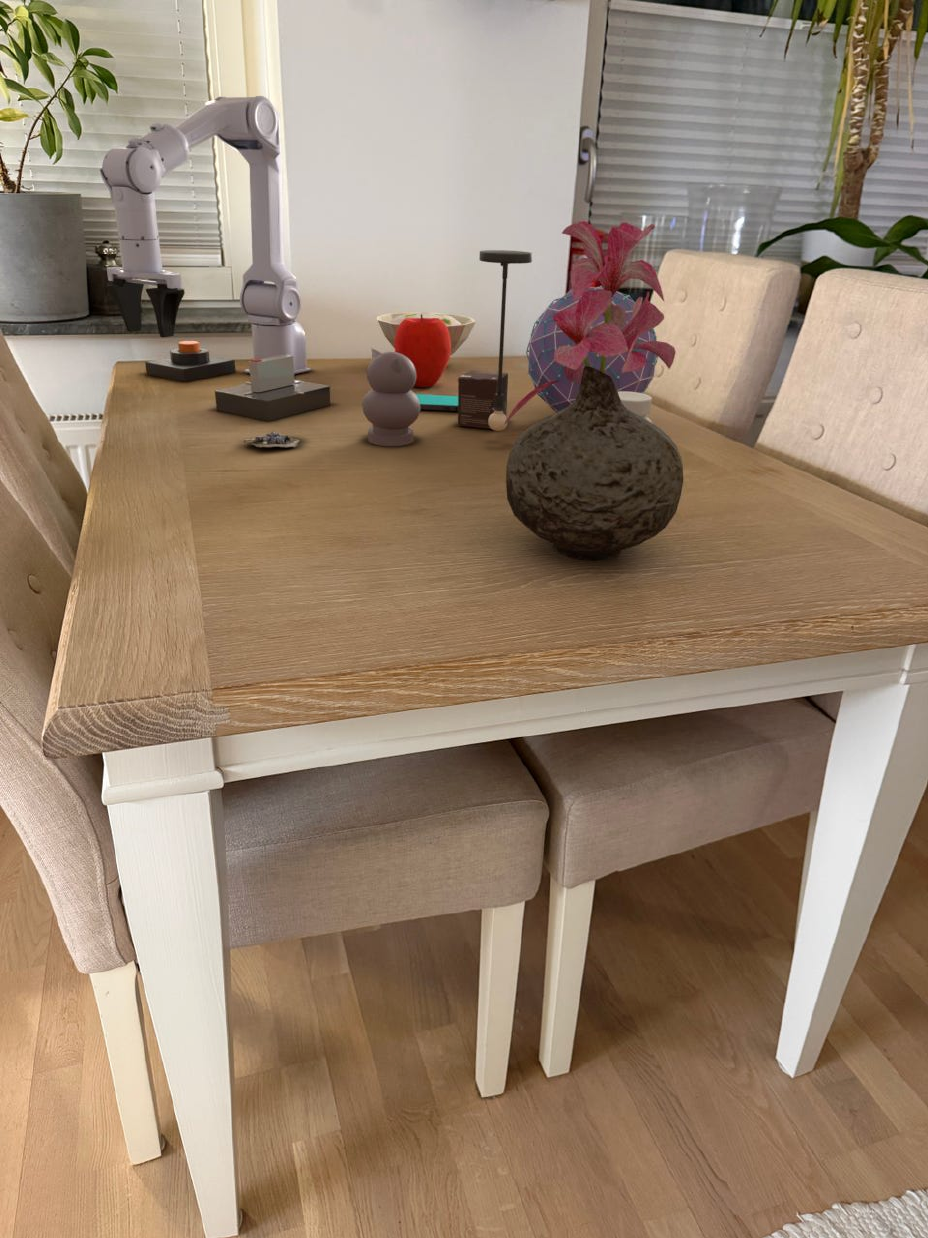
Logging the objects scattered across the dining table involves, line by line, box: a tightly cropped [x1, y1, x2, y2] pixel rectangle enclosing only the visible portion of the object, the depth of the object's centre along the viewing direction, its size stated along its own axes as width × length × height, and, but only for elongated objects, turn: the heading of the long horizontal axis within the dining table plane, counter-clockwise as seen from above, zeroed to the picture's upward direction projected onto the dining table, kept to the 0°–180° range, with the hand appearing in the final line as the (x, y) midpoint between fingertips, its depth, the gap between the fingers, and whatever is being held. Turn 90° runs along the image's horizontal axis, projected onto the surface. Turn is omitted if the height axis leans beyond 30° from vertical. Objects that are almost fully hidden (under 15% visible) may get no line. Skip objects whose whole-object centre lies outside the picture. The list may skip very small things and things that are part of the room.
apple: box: [394, 314, 451, 388], centre depth 156 cm, size 10×10×12 cm
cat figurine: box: [362, 347, 422, 447], centre depth 122 cm, size 8×8×12 cm
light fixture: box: [478, 249, 533, 432], centre depth 118 cm, size 7×7×25 cm
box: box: [457, 369, 509, 430], centre depth 133 cm, size 6×6×7 cm
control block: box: [144, 347, 237, 383], centre depth 161 cm, size 12×10×4 cm
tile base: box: [214, 379, 331, 422], centre depth 139 cm, size 14×12×3 cm
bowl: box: [376, 311, 476, 357], centre depth 172 cm, size 19×19×10 cm
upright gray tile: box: [248, 354, 295, 393], centre depth 138 cm, size 8×2×5 cm, turn 147°
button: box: [177, 340, 201, 353], centre depth 160 cm, size 4×4×2 cm
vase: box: [503, 220, 684, 562], centre depth 83 cm, size 17×17×30 cm
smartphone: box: [415, 393, 458, 412], centre depth 144 cm, size 7×1×15 cm
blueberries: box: [243, 431, 301, 449], centre depth 120 cm, size 7×8×2 cm
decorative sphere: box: [525, 285, 659, 414], centre depth 135 cm, size 20×20×20 cm
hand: (150, 333), depth 138 cm, fingers open, 7 cm apart
